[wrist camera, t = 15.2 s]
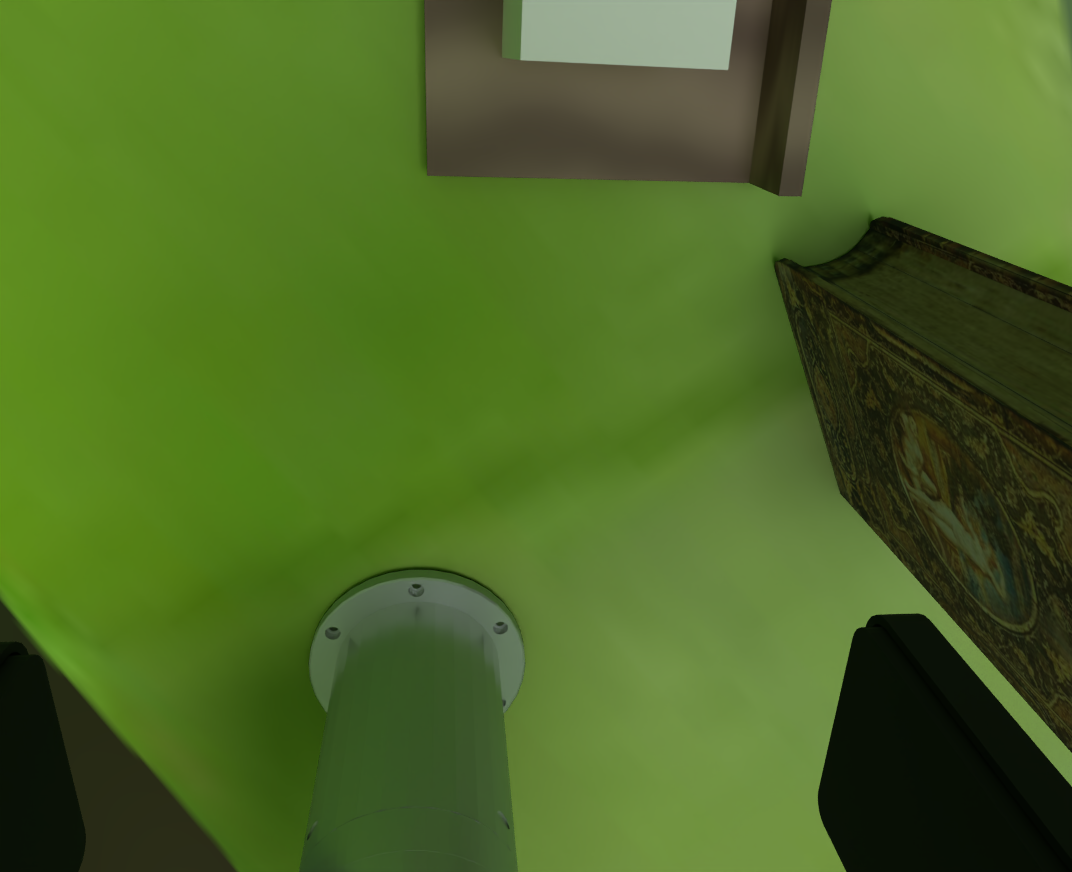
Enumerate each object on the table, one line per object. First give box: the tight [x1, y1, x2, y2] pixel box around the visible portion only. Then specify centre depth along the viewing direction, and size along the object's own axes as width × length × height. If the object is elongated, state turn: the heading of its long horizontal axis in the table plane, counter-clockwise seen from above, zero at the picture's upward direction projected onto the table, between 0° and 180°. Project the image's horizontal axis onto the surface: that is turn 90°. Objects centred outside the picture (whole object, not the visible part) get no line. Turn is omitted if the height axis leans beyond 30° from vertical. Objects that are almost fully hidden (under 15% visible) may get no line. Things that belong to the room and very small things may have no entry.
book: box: [775, 217, 1072, 752], centre depth 35 cm, size 16×6×25 cm, turn 22°
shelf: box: [424, 0, 832, 196], centre depth 35 cm, size 14×16×8 cm
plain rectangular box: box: [502, 0, 737, 70], centre depth 32 cm, size 4×7×10 cm, turn 87°
